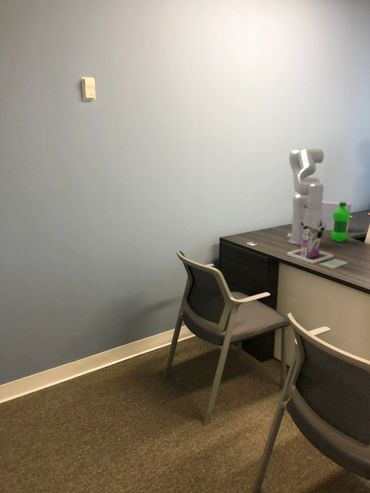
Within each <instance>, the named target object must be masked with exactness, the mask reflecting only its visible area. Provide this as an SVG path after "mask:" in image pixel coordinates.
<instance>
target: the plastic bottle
mask: <svg viewBox="0 0 370 493" xmlns="http://www.w3.org/2000/svg"><path fill="white" fill-rule="evenodd" d="M347 203H348V202H345V201H341V202H340V203H339V206H340V208H339V209H337V210H336V211H335V212H334V213H333V219H334V220H335V221H334V230H333V231H331V238H332V239H333V240H334V241H335V242H339V243H342V242H344V241H345V240H346V239H348V231H347V232H346V229H347V221H348V220H349V221H350V219H351V212H350V213H349V212H348V210H347V209H345V206H346V205H347Z"/></svg>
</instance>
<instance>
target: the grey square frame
mask: <svg viewBox="0 0 370 493" xmlns="http://www.w3.org/2000/svg"><path fill="white" fill-rule="evenodd" d="M298 253H301V248H300V249H299V248H298V249H295V250H292V251H288V252H287V253H286V255H287V256H289V257H291V258H295V259H298V260H301V261H303V262H307V263H310V264H317V263H319V262H323V261H327V260H329V259H332V258H334V254H332V253H328V252H325V251H323V250H319V255H322V257H319V258H316V259H315V258H314V259H311V258H308V259H307V258H304V257H301V256H300V255H298Z"/></svg>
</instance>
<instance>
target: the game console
mask: <svg viewBox="0 0 370 493" xmlns="http://www.w3.org/2000/svg"><path fill="white" fill-rule="evenodd" d="M339 203H340V202H338V201H327V200H322V210H323V221H324V222H325V223H326V224H327V227H326V228H325V229H324V230H323V231H331V232H332V231H333V230H334V221H335V220H334V219H333V213H334V212H335V211H336V210H337V209H339V208H340V206H339ZM346 203H347V205H346V206H345V209H347V210H348V212H349V213H350V214H351V210H352V203H351V202H346ZM349 224H350V219H349V220H348V221H347V229H346V232H347V233H348V231H349V226H350V225H349ZM322 227H323V225H322ZM309 228H312V227H309Z"/></svg>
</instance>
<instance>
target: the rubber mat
mask: <svg viewBox="0 0 370 493" xmlns="http://www.w3.org/2000/svg"><path fill="white" fill-rule="evenodd" d="M347 264H349V262H348V261H344V260H342V259H338V258H333V259H330V260H328V261H327V260H326V261H325V262H321V263H319V265H321V266H323V267H327V268H329V269H331V270H333V269H336V268H339V267H342V266H344V265H347Z"/></svg>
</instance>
